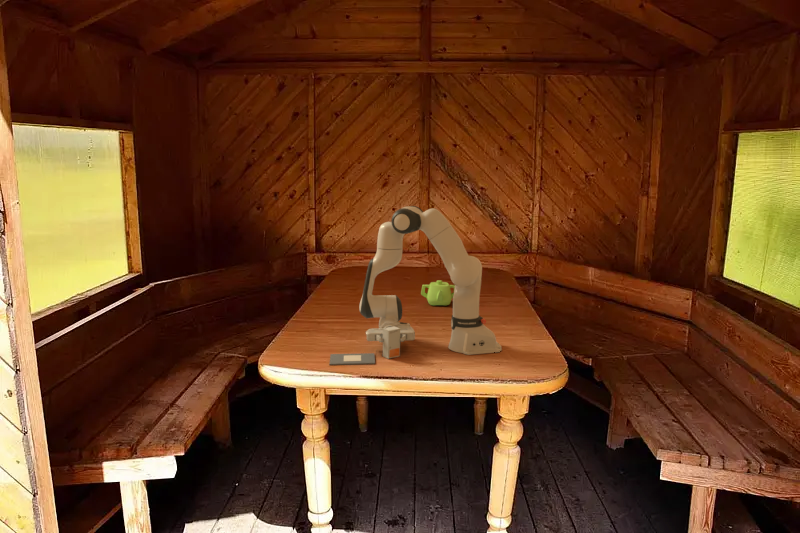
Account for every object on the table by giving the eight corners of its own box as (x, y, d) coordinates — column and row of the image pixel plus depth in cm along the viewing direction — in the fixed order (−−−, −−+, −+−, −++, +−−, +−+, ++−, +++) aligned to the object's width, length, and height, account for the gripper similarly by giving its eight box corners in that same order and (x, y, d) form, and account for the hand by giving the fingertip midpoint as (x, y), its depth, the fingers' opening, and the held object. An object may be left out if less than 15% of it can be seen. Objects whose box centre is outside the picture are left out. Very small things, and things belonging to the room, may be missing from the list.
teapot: (458, 309, 341) (459, 285, 338) (421, 308, 341) (421, 284, 339) (456, 300, 359) (456, 278, 356) (420, 300, 359) (420, 277, 357)
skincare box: (388, 359, 260) (388, 330, 258) (382, 356, 263) (382, 328, 261) (400, 356, 264) (400, 328, 261) (394, 353, 267) (394, 326, 265)
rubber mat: (374, 354, 266) (374, 352, 266) (375, 364, 254) (375, 362, 254) (330, 355, 265) (330, 353, 265) (329, 365, 253) (329, 363, 253)
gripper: (365, 324, 274) (365, 333, 260) (413, 323, 275) (416, 332, 261) (365, 338, 275) (366, 348, 261) (413, 337, 276) (416, 347, 263)
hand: (391, 340), depth 261 cm, fingers closed on skincare box, 7 cm apart
